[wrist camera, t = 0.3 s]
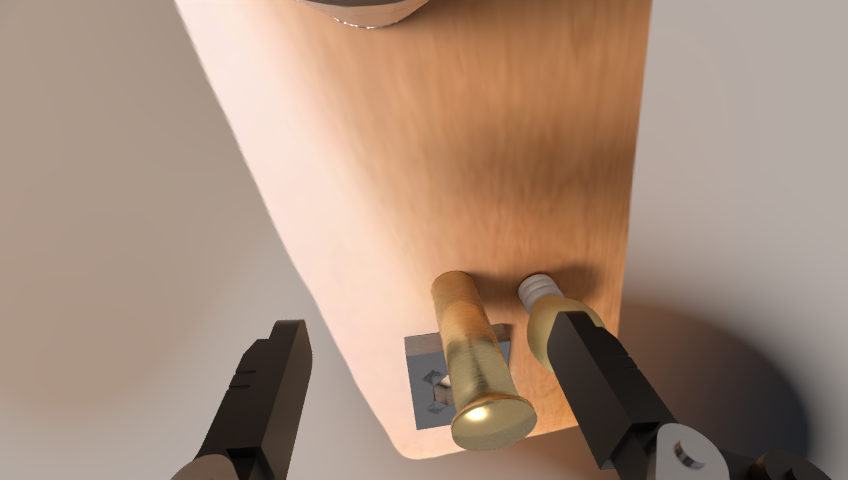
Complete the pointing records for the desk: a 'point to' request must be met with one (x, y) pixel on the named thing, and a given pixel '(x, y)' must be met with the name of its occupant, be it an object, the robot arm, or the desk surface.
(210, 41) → the desk surface
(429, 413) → the jig
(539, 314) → the light bulb
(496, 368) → the rivet
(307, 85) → the desk surface
